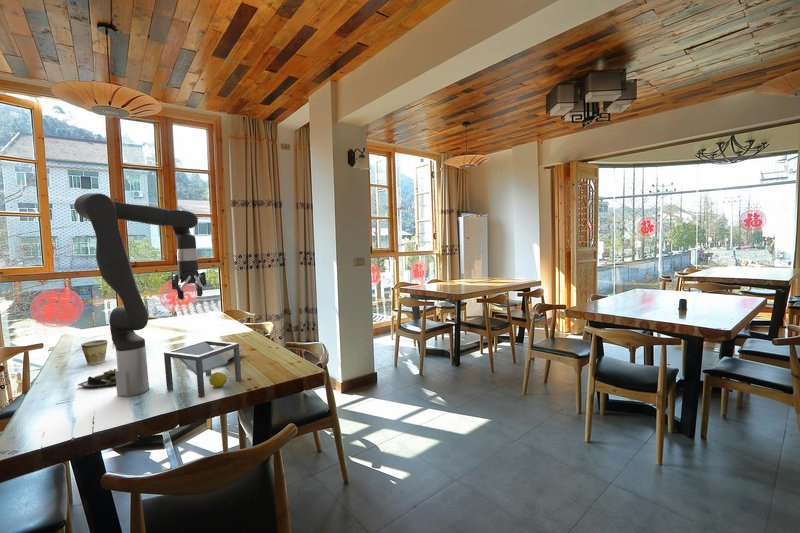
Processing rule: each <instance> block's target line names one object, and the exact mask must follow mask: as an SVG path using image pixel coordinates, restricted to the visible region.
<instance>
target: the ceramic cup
mask: <svg viewBox="0 0 800 533" xmlns="http://www.w3.org/2000/svg"><path fill="white" fill-rule="evenodd" d="M80 345H81V350H82V352H83V356H84V358H85V362H86V364H87V365H91V366H93V365H98V364H102V363H105V361H106V357H107V356H106V355H107V350H108V349H107V348H108V340H106V339H97V340H91V341H87V342H84V343H81V344H80Z"/></svg>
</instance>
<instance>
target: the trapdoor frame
mask: <svg viewBox="0 0 800 533" xmlns="http://www.w3.org/2000/svg"><path fill="white" fill-rule="evenodd" d="M203 342H206V343H208V344H209V345H210V346H213V347H215V346H223V348H220V349H217V350H214V351H211V352H208V353H205V354H202V355H192V354H184V353H176V352H174V351H176V350H180V349H183V348H186V347H190V346H193V345H196V344H199V343H203ZM239 346H240V343H239V342H238V343H237V342H229V341H218V340H211V339H210V340H209V339H204V340H202V341H199V342H198V341H197V342H195V343H191V344H188V345H184V346H181V347H178V348H175V349H171V350H169V351H168V350H167V351H164V352H163V358H164V369H165V370H164V371H165V372H164V373H165V382H166V384H165V385H166V391H167V390H168V391H167V392H171V391H170V390H172V391H174V381H173V380H174V379H173V371H172V370H173V369H172V358H173V359H179V360H180V359H187V360H194V361H196V372H197V375H196V384H197V393H198V394H197V395H198V398H203V397H205V396H206V392H205V380H204V373H203V364H202V360H203V359H206V358H209V357H212V356H214V355H217V354H220V353H223V352H226V351H229V350H232V349H234V356H233V359H234V361H233V362H234V373H235V374H234V375H235V381H241V380H242V371H241V370H242V368H241V367H242V366H241V358H240V356H241V355H240V354H241V352H239ZM209 375H210V376H211V375H212V370H210V371H207V372H205V376H206V377H210V376H209Z"/></svg>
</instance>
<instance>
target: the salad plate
mask: <svg viewBox="0 0 800 533" xmlns="http://www.w3.org/2000/svg"><path fill="white" fill-rule="evenodd" d="M116 370H118V368H117V369H116V368H113V370H112V369H109V370H106V371H103V373H102V374H99V375H95V376H91V375H90V376H88V378H87V380H86V381H82V382H80V383H78V384H77V386H78V387H79V386H80V387H83V388H85V389H88V390H90V389H91V390H93V389H94V390H95V389H102V388H112V387H116V376H115V371H116Z"/></svg>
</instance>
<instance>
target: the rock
mask: <svg viewBox="0 0 800 533" xmlns="http://www.w3.org/2000/svg"><path fill="white" fill-rule="evenodd" d="M212 348H213V349H214V350H217V349H220V348H223V346H212ZM243 349H244V347H243V346H240V345H239V353H241V352H242V351H243ZM220 355H221V356H222V357H223V358H225V359H226V360H227V361H228V362H229V360H231V359H233V358H234V349H232V350H229V351H226V352H223V353H220Z"/></svg>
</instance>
